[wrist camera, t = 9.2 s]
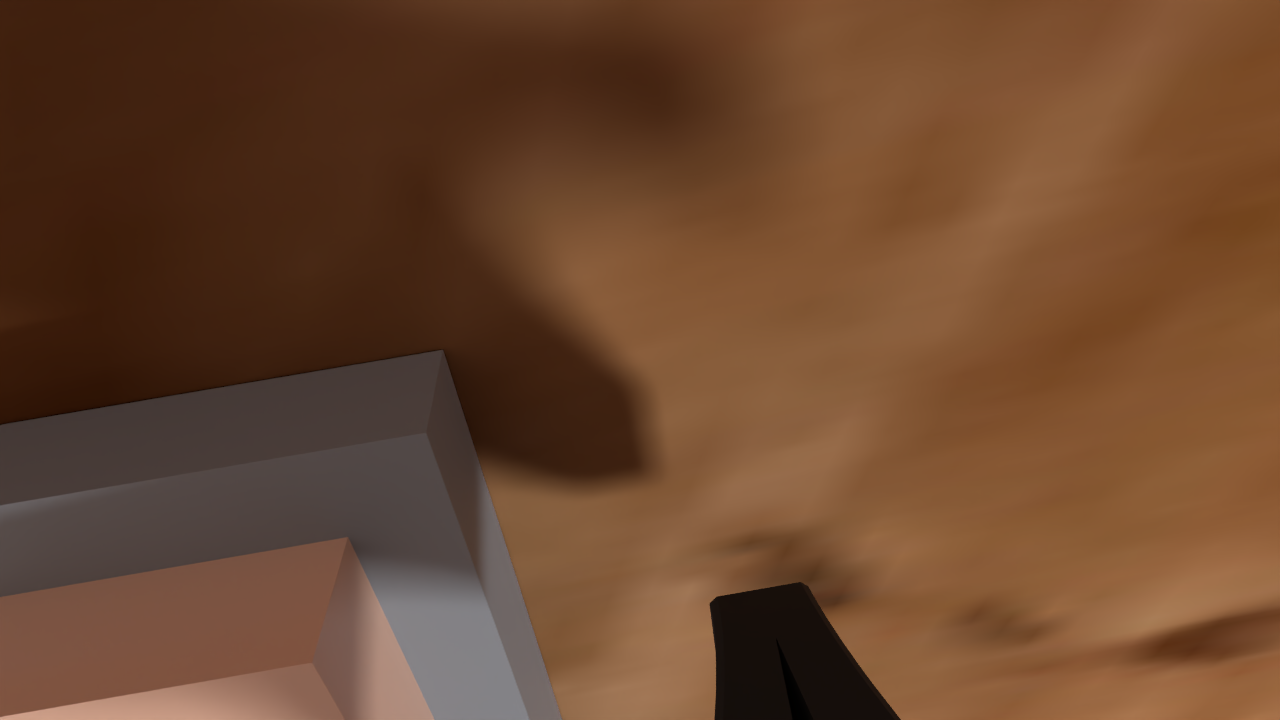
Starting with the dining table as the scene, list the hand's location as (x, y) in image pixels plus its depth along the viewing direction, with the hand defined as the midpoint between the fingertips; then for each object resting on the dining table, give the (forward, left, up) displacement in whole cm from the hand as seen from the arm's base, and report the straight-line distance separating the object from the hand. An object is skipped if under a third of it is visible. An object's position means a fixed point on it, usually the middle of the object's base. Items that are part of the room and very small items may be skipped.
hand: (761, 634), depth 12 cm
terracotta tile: (0, +8, -1) cm, 8 cm away
